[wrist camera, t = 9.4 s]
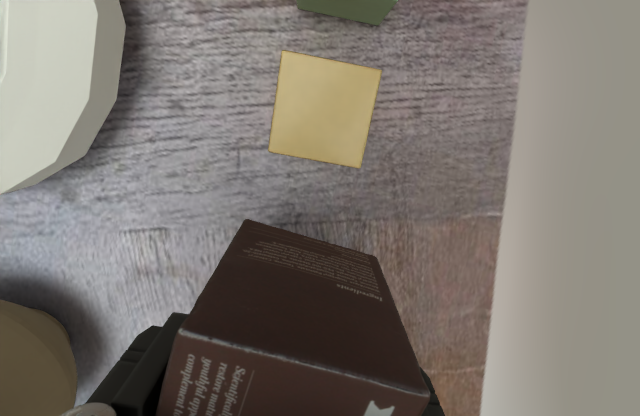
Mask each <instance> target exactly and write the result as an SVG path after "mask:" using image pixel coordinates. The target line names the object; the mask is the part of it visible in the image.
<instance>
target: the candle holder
mask: <svg viewBox="0 0 640 416" xmlns="http://www.w3.org/2000/svg"><path fill="white" fill-rule="evenodd" d="M125 29H126V24H125V21H124V17H123V13H122V10H121V6H120V2H119V0H0V195H2V194H6V193H9V192H13V191H16V190H20V189H23V188H27V187H30V186H34V185H36V184H37V183H39V182H41V181H42V180H44V179H46V178H48V177H49V176H51V175H53V174H54V173H56V172H58V171H59V170H61V169H63V168H65V167H66V166H68V165H70V164H71V163H73V162H75V161H77V160H78V159H80V158H82V157H83V156H85V155H86V153H87V152H88V150H89V148H90V146H91V144H92V143H93V141H94V139H95V137H96V136H97V134H98V132H99V130H100V128H101V127H102V125H103V123H104V121H105V119H106V118H107V116H108V114H109V112H110V111H111V109H112V107H113V105H114V103H115V102H116V100H117V92H118V84H119V76H120V68H121V61H122V53H123V45H124V37H125Z"/></svg>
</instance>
